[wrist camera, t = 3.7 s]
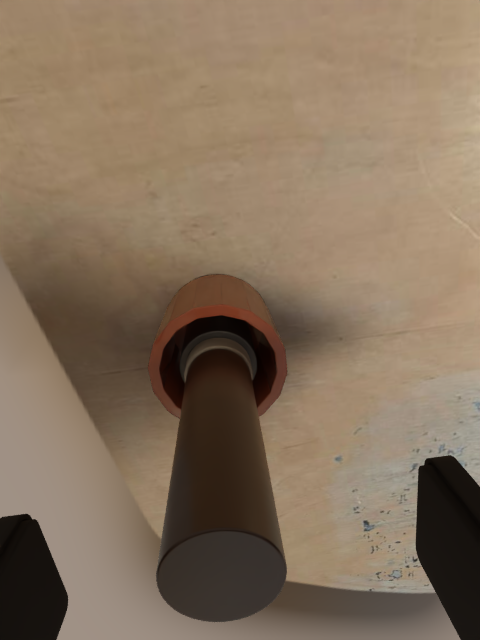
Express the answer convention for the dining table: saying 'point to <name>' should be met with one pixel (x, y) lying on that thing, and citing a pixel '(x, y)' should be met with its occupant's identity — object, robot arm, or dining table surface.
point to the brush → (220, 485)
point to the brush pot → (207, 301)
